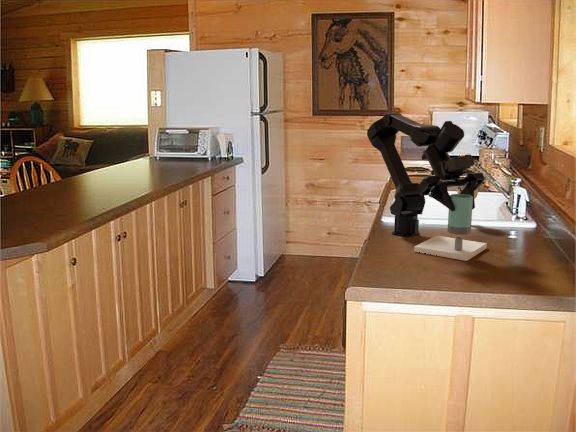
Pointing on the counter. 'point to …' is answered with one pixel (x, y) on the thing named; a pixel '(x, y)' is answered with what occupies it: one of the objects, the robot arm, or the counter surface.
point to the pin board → (451, 247)
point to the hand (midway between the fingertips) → (463, 209)
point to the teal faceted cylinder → (460, 214)
